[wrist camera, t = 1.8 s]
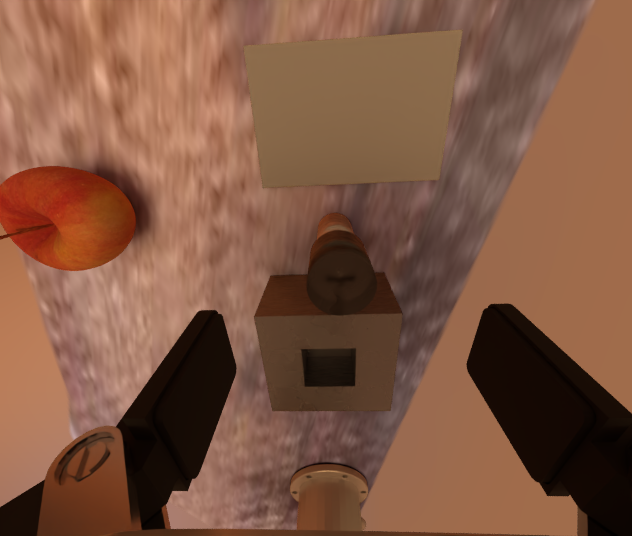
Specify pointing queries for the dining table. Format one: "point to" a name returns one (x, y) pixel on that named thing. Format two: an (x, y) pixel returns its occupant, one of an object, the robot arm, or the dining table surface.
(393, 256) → the dining table surface
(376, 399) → the block
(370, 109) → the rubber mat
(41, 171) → the apple
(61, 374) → the dining table surface
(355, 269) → the brown beige cylinder
